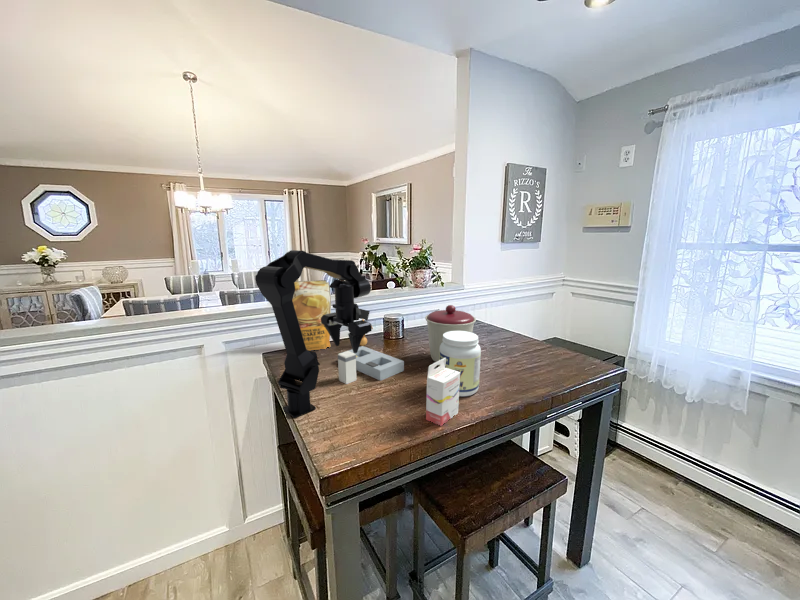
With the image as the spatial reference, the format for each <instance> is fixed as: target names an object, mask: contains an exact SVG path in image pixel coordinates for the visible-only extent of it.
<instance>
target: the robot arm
mask: <svg viewBox="0 0 800 600" xmlns="http://www.w3.org/2000/svg"><path fill="white" fill-rule="evenodd" d="M303 269H309V270H314V271H317V272H323V273H326V275H327V276H329V277H331V278H333V281H332V283H330V284H329V285H330V289H331V288H332V289H334V302H335V303H333V304H332V303H331V307H332V308H333V309H335V312H331V313H330V314H325V315H323V316H322V317H321V324H324V327H325V328H326V330H327V331H328V333H329V334H330V339H331V340H332V342H333V343H334V345H335V346H336V347H339V346H340V343H341V328H342V326H343V327H347V329H348V332H349V333H347V335H348V338H349V341H350V346H351V350H353V352H354V353H357V351H358V348H359V347H360V342H361V340H362V337H363V336H364V335H365V336H366V335H367V334H369V332H372V330H373V329H372V327H373V326H372V324H371V322H369V321H368V320H369V316H370V310H366V309H363V308H359V305H358V304H357V303H355V299H357V298H361V297H365V296H367V295H369V294H370V293H371V291H372V285H371V283H370V281H369V280H368V279H367V277H366V275H364V274H361V272H360V271H359V269H358V267H357V265H356V262H355V261H354V260H350V259H332V258H328V257H325V256H324V257H323V256H321V255H316V254H313V253H309V252H306V251H305V250H299V249H298V250H293V249H291V250H288V251H287V252H286V253H285V254H283V255H282V256H281V257H278V258H277V259H275V260H273V261H271V262H270V263H268V264H266V266H265V265H264V266H262V267H261V268H259V269H258V271H257V273H256V275H255V276H254V277H255V278H254V279H255V280H254V281H255V284H256V286H257V287H258V289H259V291H260V293H261V295H262V296H263V297H264V298H265V299H266V300H267V302H268V303H270V305H271V307H272V311H273V314H274V317H275V320H276V323H277V326H278V329H279V330H278V331H279V332H280V337H281V338H282V342H283V346H284V348H285V351H286V356H285V360H284V370H283V372H282V374H281V375H280V378H279V380H278V381H277V384H278V386H279V388H281V389H284V390H286V397H287V401H286V402H287V405H284V406H283V407H282V410H283V411H284V412H285V413H287V414H288V415H290V416H291V417H292V418H294V419H296V418H298V417H300V416H303V415H305V414H307V413H310V412H312V411H314V410H316V409H317V407H316V405H314V404H312V403H311V393H310V392H312V391H314V390H315V389H316V388H317V382H318V378H319V372H320V365H321V363H320V362H319V360H318V355H317V351H309V350H307V349H306V346H305V343H304V339H303V336H302V332H301V329H300V325H299V322H298V318H297V315H296V311H295V308H294V305H293V301H292V299H293V296H294V292H295V283H294V282H295V281H298V280H299V278H300V277H301V276H302V273H303ZM360 319H361V320H360ZM362 319H364V321H363V320H362Z"/></svg>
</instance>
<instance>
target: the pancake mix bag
mask: <svg viewBox="0 0 800 600" xmlns="http://www.w3.org/2000/svg"><path fill="white" fill-rule="evenodd" d="M294 283H295V292H294V296H293V299H292V301H293V305H294V308H295V311H296V315H297V318H298V322H299V325H300V329H301V332H302V336H303V339H304V343H305V346H306V349H307V350H309V351H311V350H319V351H321V350H320V349H325V350H327V349H328V348H327V347H329V348H331V347H332V345H331V342H330V340H331V336H330V334H329V333H328V331H327V330H326V328H325V327H324V324H321V317H322V316H323V315H325V314H330V313H332V302H331V301H332V300H331V297H332V296H331V288H330V285H331V284H330V282H329V281H327V280H326V279H322V280H321V279H320V280H296V281H295V282H294ZM326 348H327V349H326Z"/></svg>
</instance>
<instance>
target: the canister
mask: <svg viewBox="0 0 800 600" xmlns="http://www.w3.org/2000/svg"><path fill="white" fill-rule="evenodd" d="M424 319H425V321H426V323H427V335H428V344H429V345H428V346H429V353H430V357H431V360H433V362H434V363H435V362H437V361H439V348H440V345H441V343H442V342H443V341H442V339H443V334H444V333H446V332H449V331H467V332H471V333H474V324H475V323H476V321H477V318H476V317H475V316H473V315H472V314H471V313H468V312H467V311H461V310H457V309H456V307H455V305H453V304H448V305H446V307H445V309H443V310H442V309H441V310H435V311H432V312H430V313H429V314H426V315H425V318H424Z"/></svg>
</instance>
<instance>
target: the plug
mask: <svg viewBox="0 0 800 600" xmlns="http://www.w3.org/2000/svg"><path fill="white" fill-rule="evenodd" d="M342 352H343V353H342ZM342 352H340V353H337V364H338V365H337V366H338V367H337V368H338V381H339V382H341V383H343V384H345V385H348V384H350V383H353V382H356V381H357V370H356V354H355V353H352V352H350V351H348V350H346V352H345V351H342Z"/></svg>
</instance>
